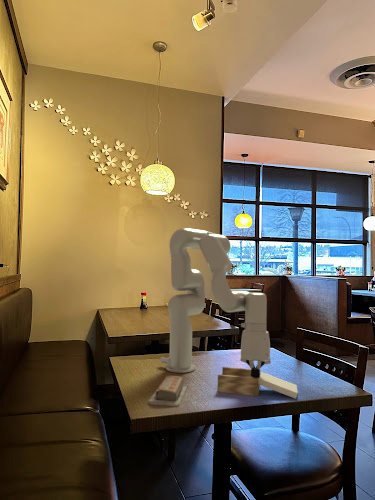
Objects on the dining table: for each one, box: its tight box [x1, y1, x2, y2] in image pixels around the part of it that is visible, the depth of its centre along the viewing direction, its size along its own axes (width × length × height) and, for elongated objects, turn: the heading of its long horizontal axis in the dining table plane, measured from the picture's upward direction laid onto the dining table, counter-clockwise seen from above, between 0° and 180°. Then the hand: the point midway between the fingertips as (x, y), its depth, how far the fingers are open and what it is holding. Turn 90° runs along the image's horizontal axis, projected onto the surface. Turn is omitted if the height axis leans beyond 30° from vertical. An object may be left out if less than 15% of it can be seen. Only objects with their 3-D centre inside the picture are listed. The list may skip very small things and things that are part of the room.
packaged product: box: [148, 374, 188, 407], centre depth 120 cm, size 18×5×10 cm
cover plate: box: [258, 371, 299, 399], centre depth 124 cm, size 13×8×2 cm, turn 75°
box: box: [217, 366, 261, 397], centre depth 128 cm, size 14×11×6 cm
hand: (255, 379), depth 126 cm, fingers closed
